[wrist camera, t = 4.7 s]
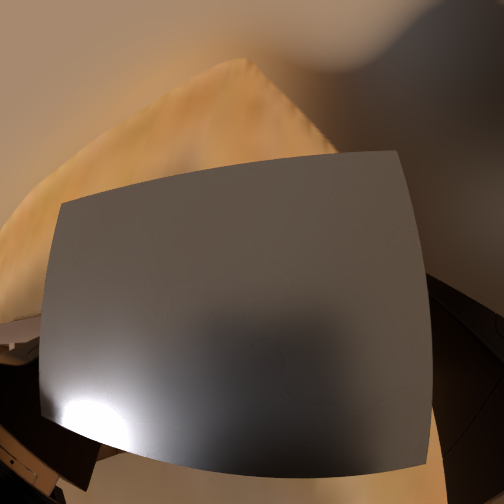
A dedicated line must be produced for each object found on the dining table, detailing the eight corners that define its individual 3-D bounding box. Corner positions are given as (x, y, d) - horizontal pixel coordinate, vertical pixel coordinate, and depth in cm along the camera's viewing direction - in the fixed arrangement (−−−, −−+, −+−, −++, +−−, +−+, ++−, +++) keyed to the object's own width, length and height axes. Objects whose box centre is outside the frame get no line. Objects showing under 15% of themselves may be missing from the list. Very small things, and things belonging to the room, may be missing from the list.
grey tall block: (345, 374, 14) (425, 464, 2) (237, 377, 15) (41, 415, 3) (342, 300, 15) (396, 150, 3) (237, 306, 16) (61, 203, 5)
